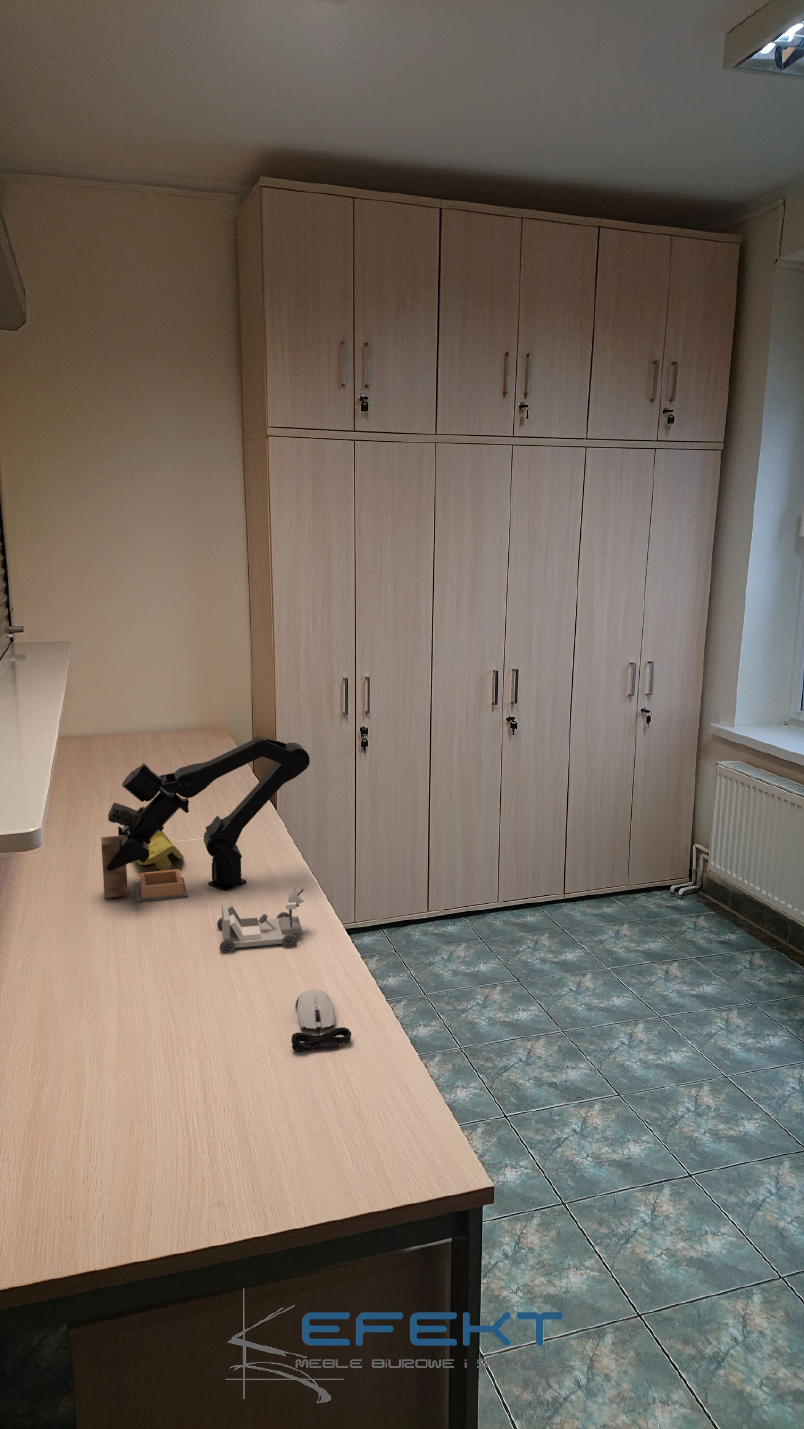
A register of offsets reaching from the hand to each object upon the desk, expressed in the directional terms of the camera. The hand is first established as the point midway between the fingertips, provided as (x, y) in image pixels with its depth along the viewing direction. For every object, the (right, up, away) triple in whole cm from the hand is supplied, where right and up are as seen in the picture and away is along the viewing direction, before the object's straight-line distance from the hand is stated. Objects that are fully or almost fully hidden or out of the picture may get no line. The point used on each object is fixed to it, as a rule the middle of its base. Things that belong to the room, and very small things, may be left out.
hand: (107, 865), depth 209 cm
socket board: (+11, -7, +5) cm, 14 cm away
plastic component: (+5, -3, +23) cm, 23 cm away
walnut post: (+1, -6, +2) cm, 7 cm away
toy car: (+37, -13, -17) cm, 43 cm away
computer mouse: (+51, -20, -49) cm, 73 cm away
